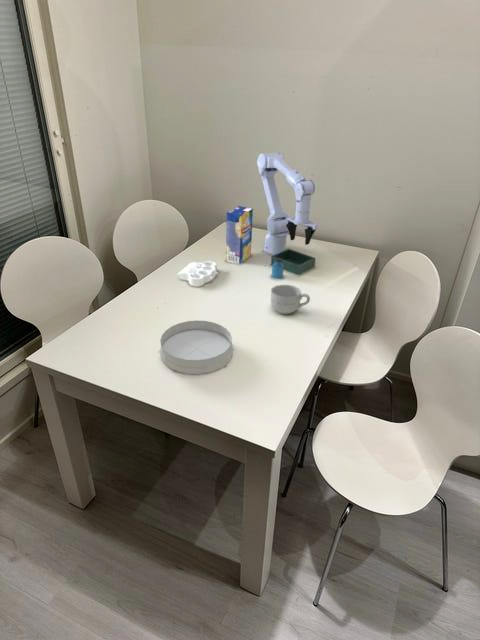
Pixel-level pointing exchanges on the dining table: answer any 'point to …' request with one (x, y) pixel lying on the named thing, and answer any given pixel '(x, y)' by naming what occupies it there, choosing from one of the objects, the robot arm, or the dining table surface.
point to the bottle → (277, 268)
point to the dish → (196, 347)
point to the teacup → (287, 298)
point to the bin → (294, 261)
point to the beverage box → (239, 234)
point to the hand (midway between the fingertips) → (299, 241)
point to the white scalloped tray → (199, 273)
